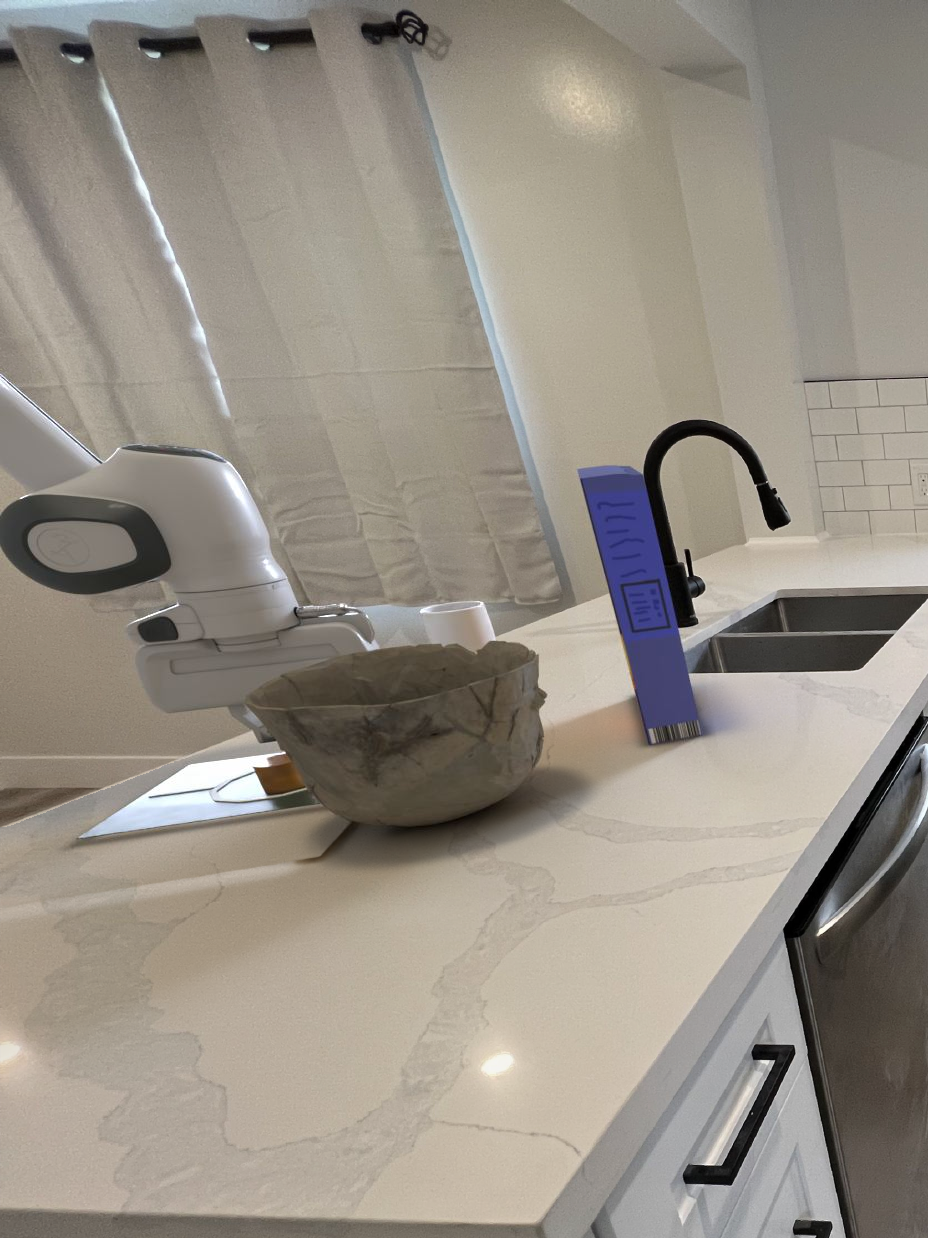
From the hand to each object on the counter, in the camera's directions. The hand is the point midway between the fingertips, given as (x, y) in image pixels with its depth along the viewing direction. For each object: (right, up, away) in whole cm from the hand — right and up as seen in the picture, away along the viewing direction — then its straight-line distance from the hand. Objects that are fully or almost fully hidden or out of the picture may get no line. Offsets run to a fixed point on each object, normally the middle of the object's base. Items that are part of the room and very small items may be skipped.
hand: (299, 737), depth 94 cm
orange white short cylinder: (+2, -5, -4) cm, 7 cm away
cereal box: (+33, +4, +16) cm, 37 cm away
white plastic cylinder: (+10, +3, +17) cm, 20 cm away
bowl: (+23, -8, -9) cm, 26 cm away
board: (-3, -6, -2) cm, 7 cm away
